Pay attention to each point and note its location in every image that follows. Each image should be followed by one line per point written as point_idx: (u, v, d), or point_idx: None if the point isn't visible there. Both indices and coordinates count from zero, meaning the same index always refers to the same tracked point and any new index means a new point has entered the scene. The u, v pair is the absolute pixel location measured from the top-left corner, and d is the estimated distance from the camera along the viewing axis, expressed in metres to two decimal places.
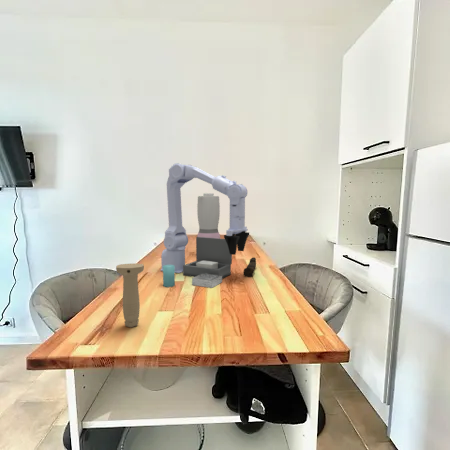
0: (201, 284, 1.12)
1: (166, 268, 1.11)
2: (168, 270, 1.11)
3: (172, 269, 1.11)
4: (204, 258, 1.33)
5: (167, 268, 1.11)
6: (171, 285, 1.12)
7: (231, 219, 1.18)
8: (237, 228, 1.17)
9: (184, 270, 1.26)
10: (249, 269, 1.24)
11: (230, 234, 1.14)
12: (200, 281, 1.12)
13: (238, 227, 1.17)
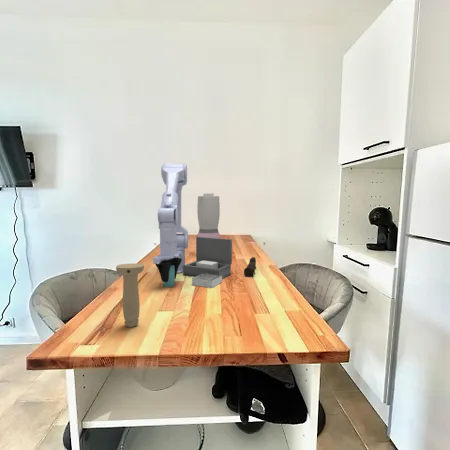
0: (201, 284, 1.12)
1: None
2: None
3: (172, 269, 1.11)
4: (204, 258, 1.33)
5: None
6: (171, 285, 1.12)
7: (161, 245, 1.10)
8: (167, 255, 1.09)
9: (184, 270, 1.26)
10: (249, 269, 1.24)
11: (157, 262, 1.06)
12: (200, 281, 1.12)
13: (168, 254, 1.09)
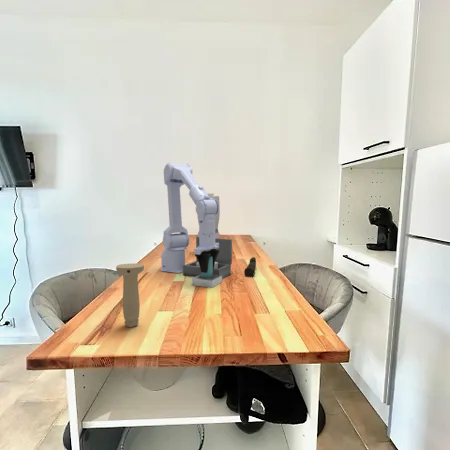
0: (201, 284, 1.12)
1: None
2: None
3: (211, 260, 1.14)
4: None
5: None
6: (210, 276, 1.14)
7: (200, 236, 1.12)
8: (206, 246, 1.11)
9: (184, 270, 1.26)
10: (250, 269, 1.24)
11: (198, 253, 1.08)
12: (200, 281, 1.12)
13: (208, 245, 1.11)
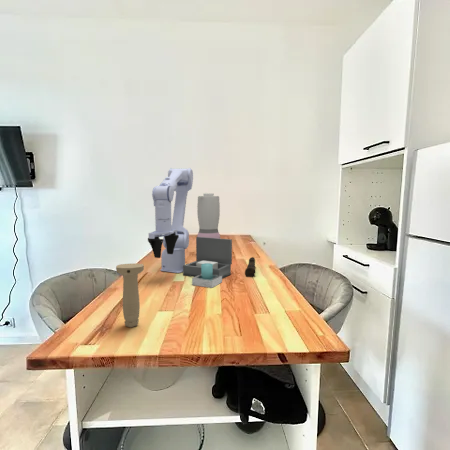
0: (201, 284, 1.12)
1: (205, 267, 1.13)
2: (207, 268, 1.13)
3: (211, 267, 1.14)
4: (204, 258, 1.33)
5: (206, 267, 1.13)
6: None
7: (156, 221, 1.15)
8: (162, 231, 1.14)
9: (184, 270, 1.26)
10: (251, 269, 1.24)
11: (152, 237, 1.11)
12: (200, 281, 1.12)
13: (163, 230, 1.14)
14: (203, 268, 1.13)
